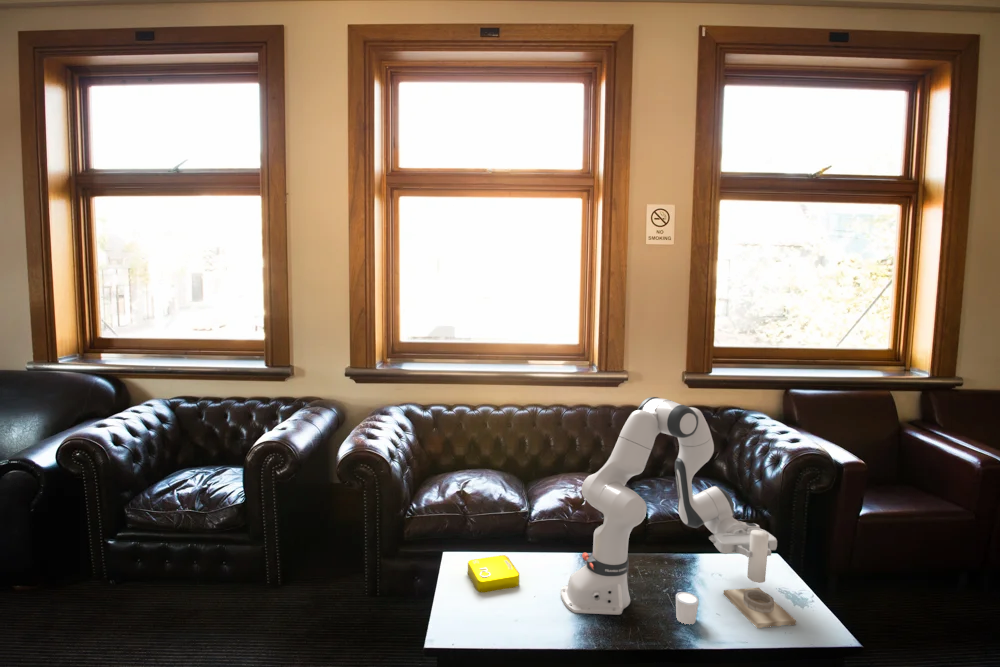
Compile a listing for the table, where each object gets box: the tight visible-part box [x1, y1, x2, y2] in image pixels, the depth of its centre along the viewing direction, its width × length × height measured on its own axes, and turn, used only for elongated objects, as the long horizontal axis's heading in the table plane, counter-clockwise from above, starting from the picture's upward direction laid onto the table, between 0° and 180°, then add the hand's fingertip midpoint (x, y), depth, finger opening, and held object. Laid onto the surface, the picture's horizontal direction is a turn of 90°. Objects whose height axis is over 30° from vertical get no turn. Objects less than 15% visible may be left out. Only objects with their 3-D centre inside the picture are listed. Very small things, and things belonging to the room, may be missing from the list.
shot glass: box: [675, 591, 700, 626], centre depth 169 cm, size 7×7×7 cm
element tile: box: [467, 554, 520, 594], centre depth 190 cm, size 15×15×5 cm
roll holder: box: [723, 587, 797, 629], centre depth 176 cm, size 13×18×4 cm
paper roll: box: [746, 530, 769, 584], centre depth 175 cm, size 5×5×15 cm
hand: (759, 554), depth 174 cm, fingers closed on paper roll, 5 cm apart
